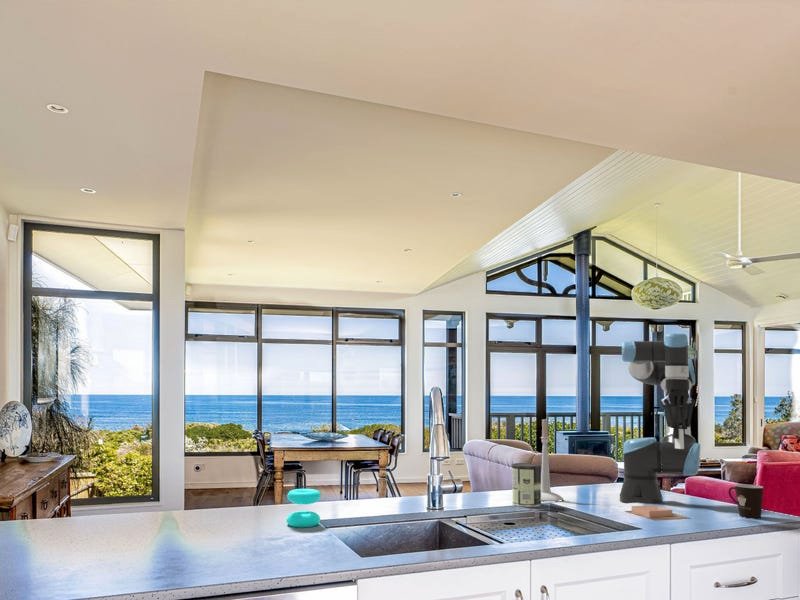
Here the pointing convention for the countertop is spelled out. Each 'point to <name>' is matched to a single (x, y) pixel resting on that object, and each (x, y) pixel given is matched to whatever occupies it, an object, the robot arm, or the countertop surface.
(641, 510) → the tile
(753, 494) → the coffee mug
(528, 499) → the coffee can
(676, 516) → the board
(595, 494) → the countertop surface
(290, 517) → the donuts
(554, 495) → the candlestick
